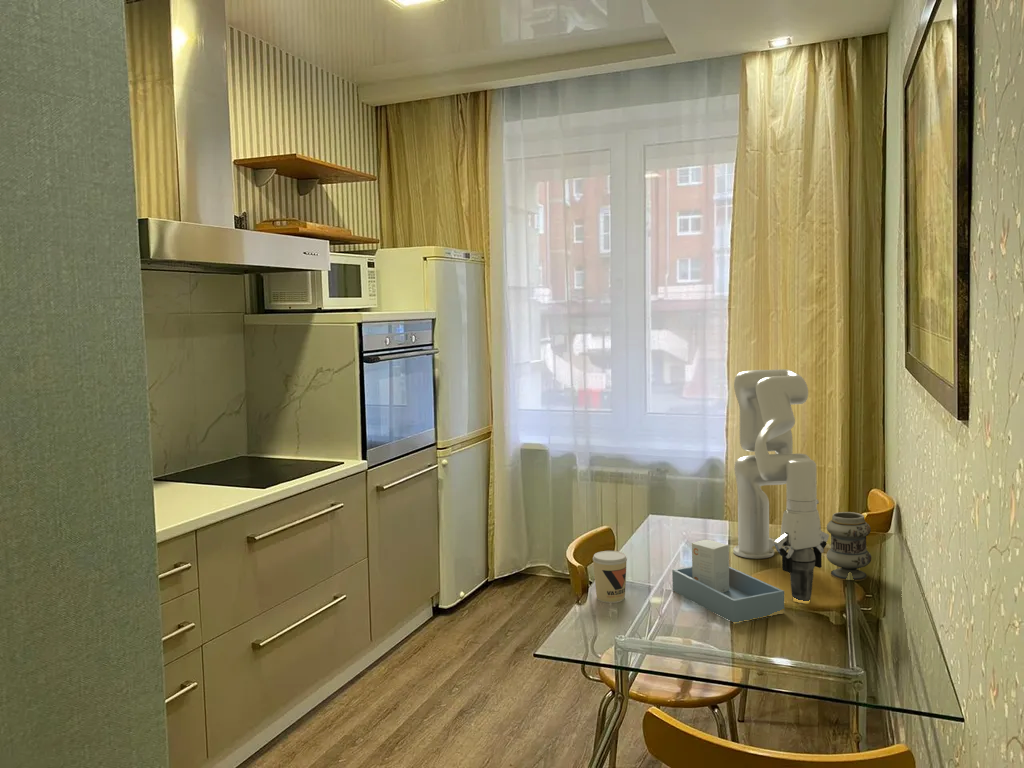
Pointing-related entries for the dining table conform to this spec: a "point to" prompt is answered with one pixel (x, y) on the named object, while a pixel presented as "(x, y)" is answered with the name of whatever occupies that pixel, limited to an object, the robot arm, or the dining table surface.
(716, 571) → the small box
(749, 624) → the dining table surface
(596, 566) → the cream lidded tub
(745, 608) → the tray
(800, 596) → the beverage cup
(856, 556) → the apothecary jar
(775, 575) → the dining table surface
